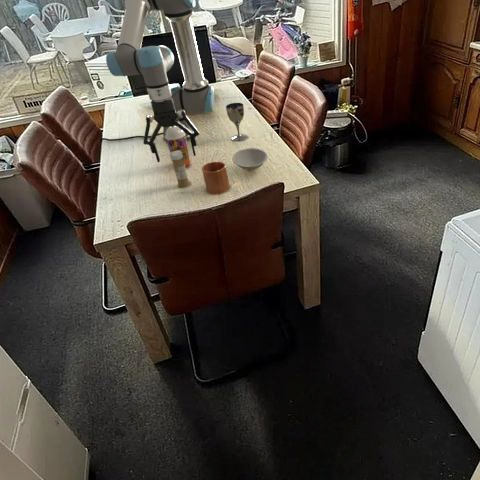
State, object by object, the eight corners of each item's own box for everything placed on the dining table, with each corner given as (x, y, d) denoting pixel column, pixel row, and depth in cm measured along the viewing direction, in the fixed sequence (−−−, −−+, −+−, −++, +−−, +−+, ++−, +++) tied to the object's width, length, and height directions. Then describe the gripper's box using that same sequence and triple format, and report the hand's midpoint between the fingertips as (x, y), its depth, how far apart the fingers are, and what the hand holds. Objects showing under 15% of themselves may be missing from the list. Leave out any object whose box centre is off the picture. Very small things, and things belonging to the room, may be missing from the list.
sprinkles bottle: (177, 184, 155) (168, 152, 146) (187, 180, 156) (179, 149, 147) (180, 188, 152) (171, 156, 143) (191, 185, 153) (183, 153, 144)
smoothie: (183, 172, 162) (171, 124, 149) (169, 168, 166) (156, 122, 153) (196, 163, 168) (185, 117, 154) (182, 160, 171) (170, 114, 158)
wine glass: (245, 141, 181) (240, 108, 171) (229, 141, 183) (223, 108, 173) (249, 134, 187) (245, 102, 177) (233, 134, 189) (228, 102, 179)
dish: (231, 162, 166) (229, 151, 162) (264, 156, 167) (263, 145, 164) (237, 181, 152) (235, 169, 149) (272, 174, 154) (271, 163, 151)
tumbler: (203, 193, 147) (198, 172, 141) (211, 182, 153) (206, 161, 147) (225, 194, 145) (221, 172, 139) (232, 183, 152) (228, 161, 146)
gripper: (123, 108, 128) (143, 167, 142) (198, 96, 131) (210, 155, 145) (125, 101, 133) (143, 159, 147) (196, 90, 136) (208, 148, 150)
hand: (176, 157), depth 146 cm, fingers open, 13 cm apart
